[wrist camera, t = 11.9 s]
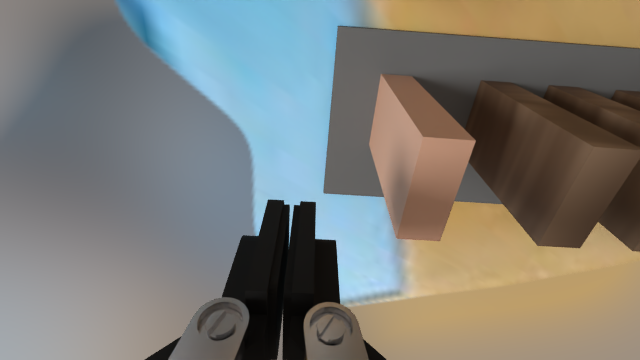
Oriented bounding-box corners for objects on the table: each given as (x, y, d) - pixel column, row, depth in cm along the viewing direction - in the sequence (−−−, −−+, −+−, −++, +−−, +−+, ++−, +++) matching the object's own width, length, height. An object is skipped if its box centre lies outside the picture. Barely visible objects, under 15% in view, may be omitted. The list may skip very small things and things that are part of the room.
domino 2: (458, 149, 23) (537, 245, 15) (480, 80, 20) (593, 147, 12) (485, 151, 23) (579, 248, 15) (511, 82, 21) (645, 150, 12)
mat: (338, 25, 19) (338, 26, 19) (748, 56, 20) (755, 57, 20) (323, 190, 25) (323, 193, 25) (636, 209, 26) (640, 212, 26)
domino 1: (411, 76, 20) (475, 140, 12) (396, 146, 23) (440, 241, 14) (380, 73, 20) (423, 136, 12) (369, 144, 23) (396, 238, 14)
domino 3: (518, 153, 23) (632, 251, 15) (548, 85, 21) (708, 154, 12) (545, 155, 23) (674, 253, 15) (578, 87, 21) (759, 158, 12)
